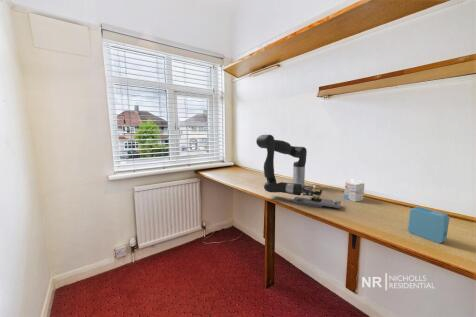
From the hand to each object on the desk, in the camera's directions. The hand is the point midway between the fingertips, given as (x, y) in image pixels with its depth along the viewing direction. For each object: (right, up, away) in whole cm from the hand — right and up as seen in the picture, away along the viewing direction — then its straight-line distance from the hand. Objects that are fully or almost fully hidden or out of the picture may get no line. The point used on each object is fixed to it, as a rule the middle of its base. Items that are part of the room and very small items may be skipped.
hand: (321, 192), depth 129 cm
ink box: (+27, -7, +12) cm, 30 cm away
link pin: (-2, -8, +2) cm, 8 cm away
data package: (+31, -14, -37) cm, 51 cm away
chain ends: (-2, -8, +3) cm, 9 cm away
